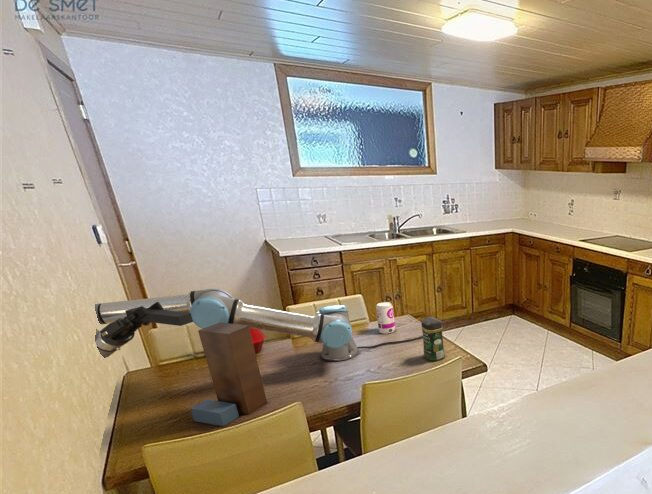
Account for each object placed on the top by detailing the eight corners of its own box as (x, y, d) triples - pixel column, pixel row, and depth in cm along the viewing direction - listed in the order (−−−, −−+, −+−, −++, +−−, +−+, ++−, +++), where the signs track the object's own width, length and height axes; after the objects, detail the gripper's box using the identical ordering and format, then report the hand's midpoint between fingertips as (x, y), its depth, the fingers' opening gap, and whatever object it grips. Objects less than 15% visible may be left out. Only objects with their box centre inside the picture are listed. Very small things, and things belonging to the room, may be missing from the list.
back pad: (128, 319, 136) (125, 310, 134) (141, 315, 139) (138, 306, 138) (180, 326, 131) (178, 316, 130) (193, 321, 135) (190, 312, 134)
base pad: (194, 421, 143) (190, 408, 142) (210, 411, 149) (207, 399, 147) (223, 426, 141) (219, 413, 139) (239, 416, 146) (235, 403, 145)
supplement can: (398, 329, 225) (395, 302, 220) (388, 335, 218) (385, 307, 213) (385, 327, 228) (382, 301, 223) (375, 333, 221) (372, 305, 215)
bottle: (269, 353, 195) (260, 312, 188) (234, 360, 188) (223, 317, 181) (266, 342, 207) (257, 303, 200) (232, 348, 200) (222, 308, 193)
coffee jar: (421, 355, 195) (418, 317, 188) (437, 351, 200) (434, 314, 193) (431, 363, 188) (428, 323, 181) (447, 358, 193) (444, 319, 186)
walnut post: (220, 409, 150) (197, 330, 140) (239, 398, 158) (219, 322, 147) (248, 414, 148) (228, 333, 137) (267, 402, 155) (248, 325, 144)
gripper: (149, 336, 151) (186, 309, 143) (92, 355, 135) (130, 327, 127) (135, 318, 149) (171, 290, 141) (76, 335, 134) (113, 305, 126)
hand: (152, 307), depth 134 cm, fingers closed on back pad, 4 cm apart
